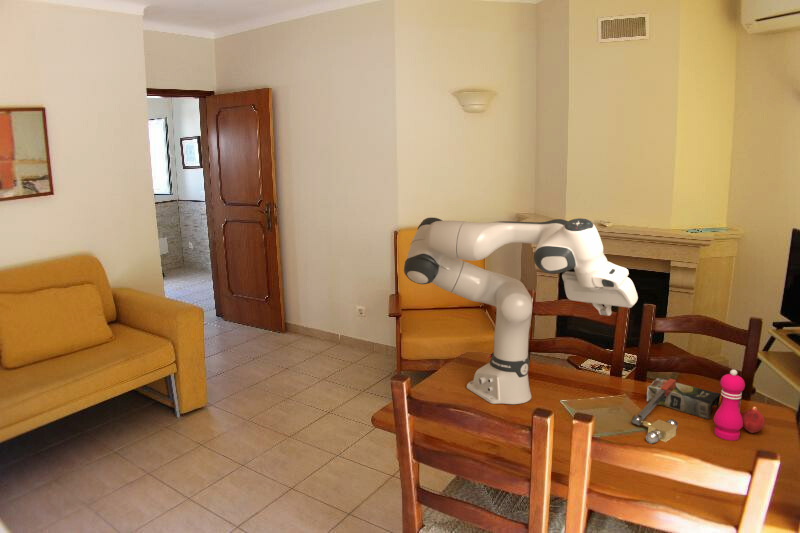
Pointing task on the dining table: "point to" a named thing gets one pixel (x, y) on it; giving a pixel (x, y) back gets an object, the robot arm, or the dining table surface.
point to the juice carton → (685, 398)
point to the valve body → (660, 430)
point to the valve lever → (655, 401)
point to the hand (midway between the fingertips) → (605, 314)
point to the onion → (753, 420)
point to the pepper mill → (729, 407)
